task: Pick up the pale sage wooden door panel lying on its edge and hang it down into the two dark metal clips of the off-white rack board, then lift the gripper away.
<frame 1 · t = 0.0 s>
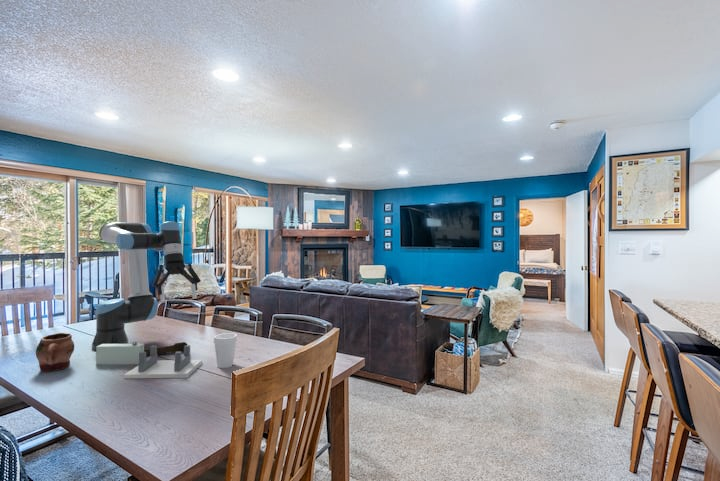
hand: (179, 300, 156), 28 cm above the table, tool tilted 20°, fingers open, 13 cm apart
foam cup: (225, 365, 153), on the table
decorative planter: (55, 369, 146), on the table
cabinet door: (120, 363, 155), on the table
hand tool: (166, 354, 168), on the table
clip rack: (165, 370, 147), on the table
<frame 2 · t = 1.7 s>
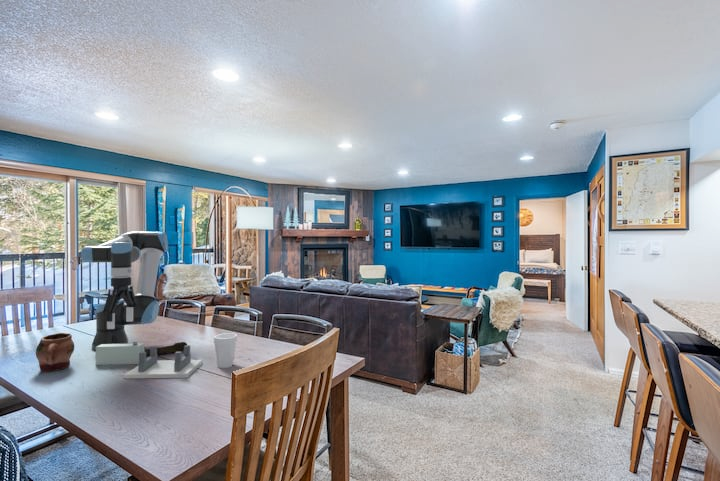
hand: (120, 325, 155), 17 cm above the table, tool pointing down, fingers open, 13 cm apart
nothing on the table moved.
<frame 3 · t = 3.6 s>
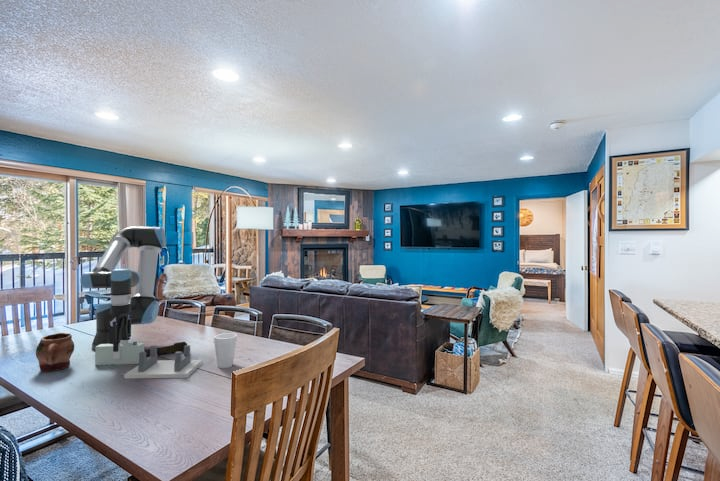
hand: (120, 356, 155), 3 cm above the table, tool pointing down, fingers closed on cabinet door, 4 cm apart
cabinet door: (120, 362, 155), on the table, touching gripper
everything else where it was.
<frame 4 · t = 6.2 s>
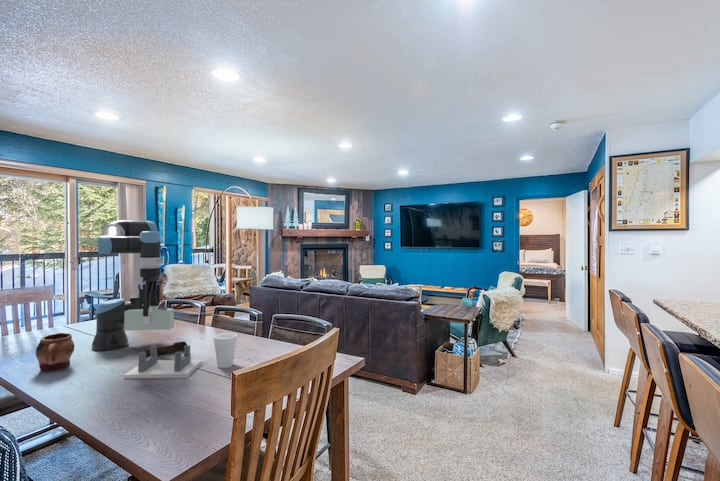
hand: (149, 322, 149), 20 cm above the table, tool pointing down, fingers closed on cabinet door, 4 cm apart
cabinet door: (149, 328, 149), point 17 cm above the table, touching gripper
everything else where it was.
when the fingers open (9 cm above the table, at t = 8.8 s): cabinet door drops 1 cm, resting on clip rack.
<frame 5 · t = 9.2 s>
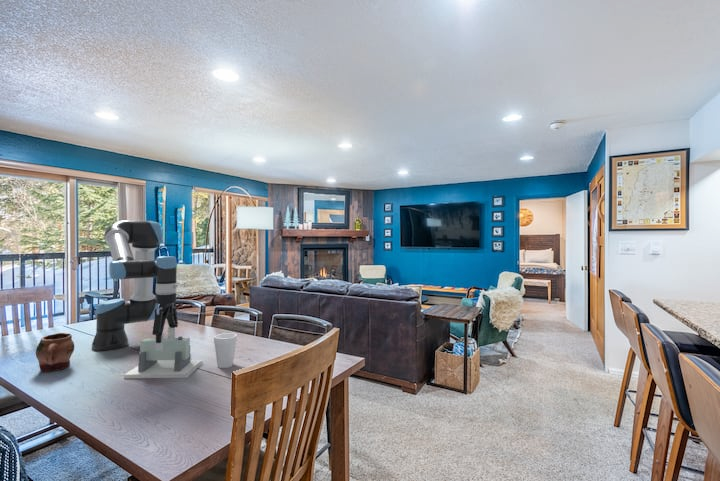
hand: (165, 346, 146), 10 cm above the table, tool pointing down, fingers open, 9 cm apart
cabinet door: (165, 358, 146), point 5 cm above the table, touching clip rack
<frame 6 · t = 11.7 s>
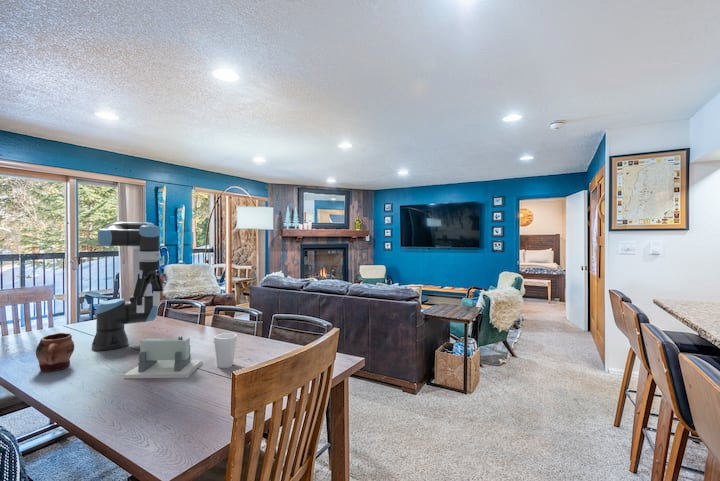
hand: (148, 309, 153), 24 cm above the table, tool pointing down, fingers open, 13 cm apart
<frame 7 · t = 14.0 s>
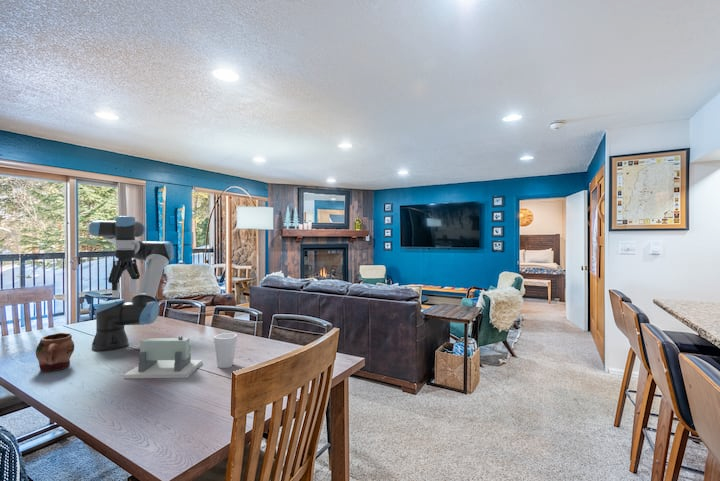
hand: (124, 295, 162), 29 cm above the table, tool pointing down, fingers open, 13 cm apart
at the end: cabinet door 0.1 cm off-centre on the clip rack, point 5.0 cm above the clip rack's base; cabinet door tilted 0°; the gripper is holding nothing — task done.
